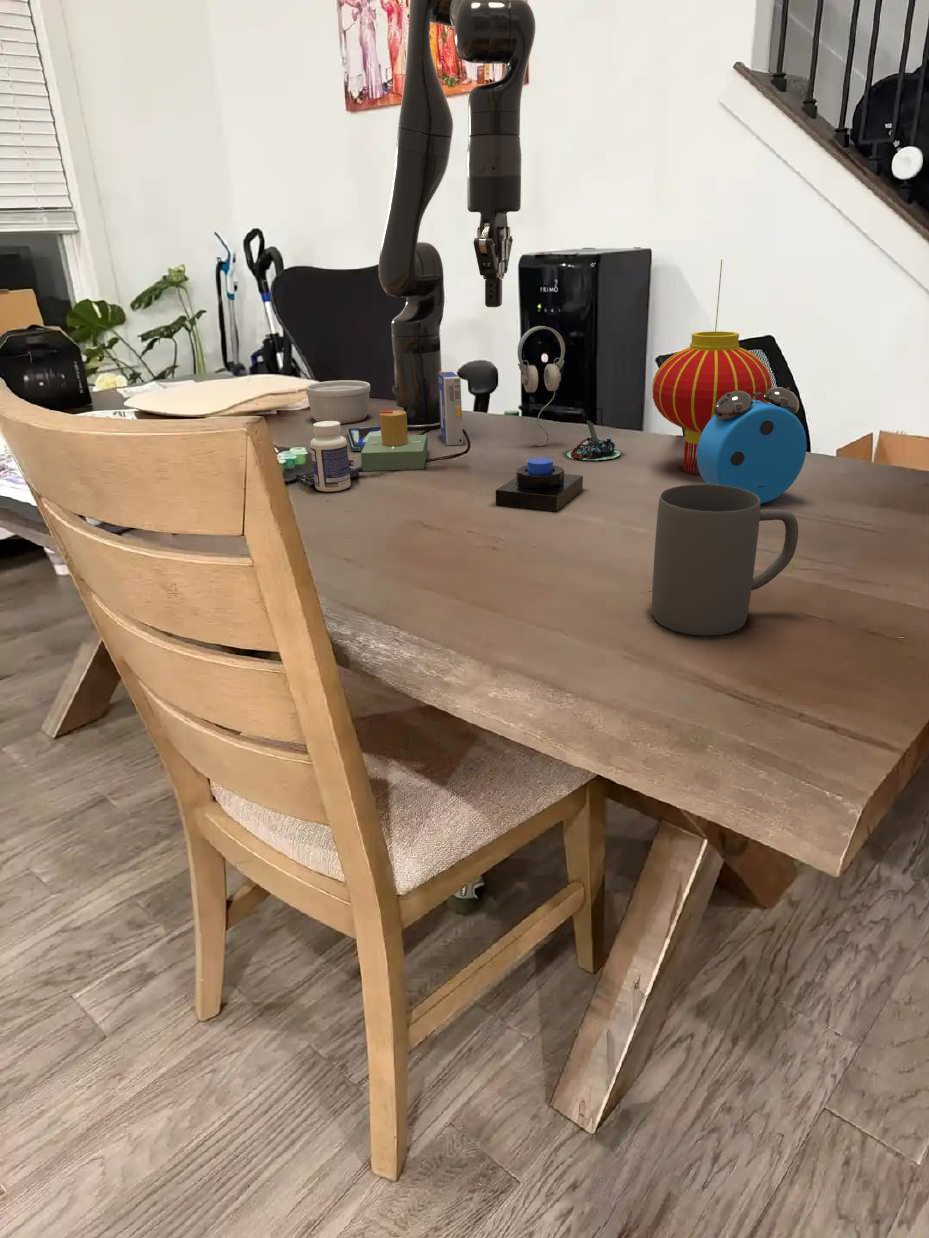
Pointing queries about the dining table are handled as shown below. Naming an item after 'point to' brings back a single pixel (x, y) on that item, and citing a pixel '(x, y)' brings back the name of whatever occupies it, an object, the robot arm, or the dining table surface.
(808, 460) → the dining table surface
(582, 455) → the dish
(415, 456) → the block
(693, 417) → the lantern
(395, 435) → the dimmer knob
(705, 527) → the mug
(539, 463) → the button
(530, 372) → the headphones
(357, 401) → the ramekin
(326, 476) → the pill bottle
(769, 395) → the alarm clock
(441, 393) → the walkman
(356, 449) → the smartphone
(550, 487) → the lamp switch
